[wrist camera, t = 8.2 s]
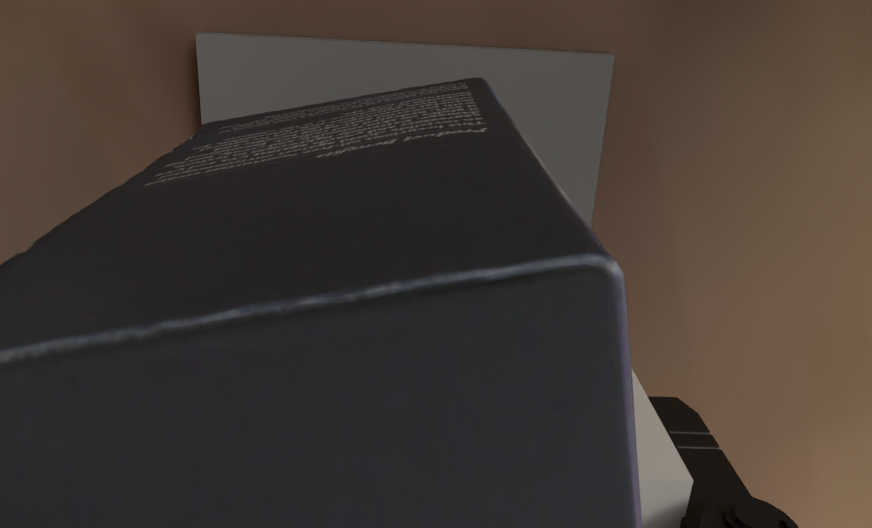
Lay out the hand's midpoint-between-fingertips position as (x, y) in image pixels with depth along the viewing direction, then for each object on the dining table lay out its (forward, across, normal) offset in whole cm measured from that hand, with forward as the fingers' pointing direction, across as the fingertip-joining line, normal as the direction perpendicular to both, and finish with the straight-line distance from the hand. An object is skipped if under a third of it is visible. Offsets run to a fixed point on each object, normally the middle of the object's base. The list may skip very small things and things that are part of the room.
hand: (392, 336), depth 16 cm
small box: (+1, 0, 0) cm, 1 cm away
